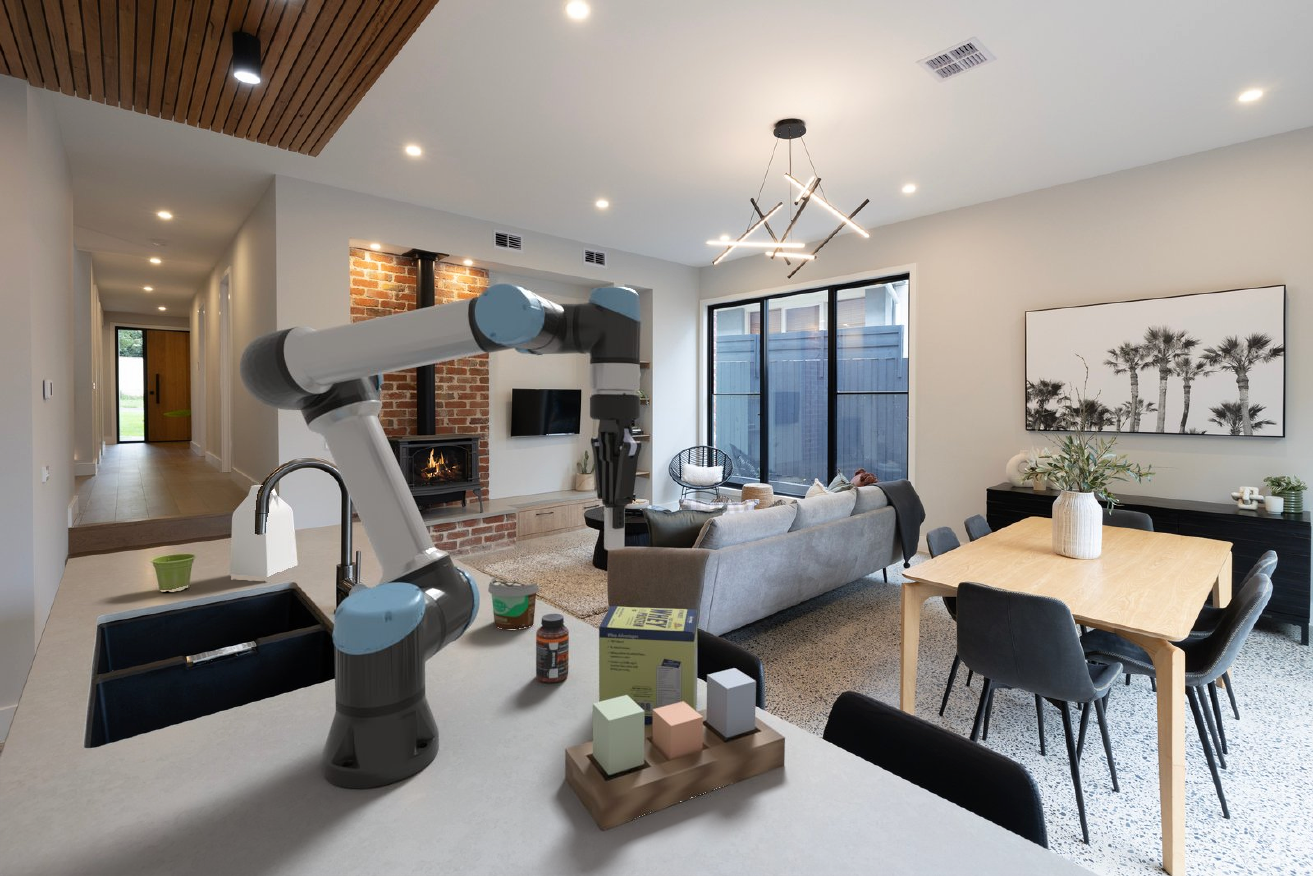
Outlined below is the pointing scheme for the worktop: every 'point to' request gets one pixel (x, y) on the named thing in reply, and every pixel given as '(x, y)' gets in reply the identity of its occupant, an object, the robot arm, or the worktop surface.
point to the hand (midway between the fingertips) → (614, 548)
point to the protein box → (649, 657)
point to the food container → (513, 603)
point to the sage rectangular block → (618, 734)
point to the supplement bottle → (552, 649)
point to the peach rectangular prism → (677, 730)
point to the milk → (262, 538)
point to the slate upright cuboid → (731, 702)
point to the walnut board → (670, 772)
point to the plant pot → (173, 570)
